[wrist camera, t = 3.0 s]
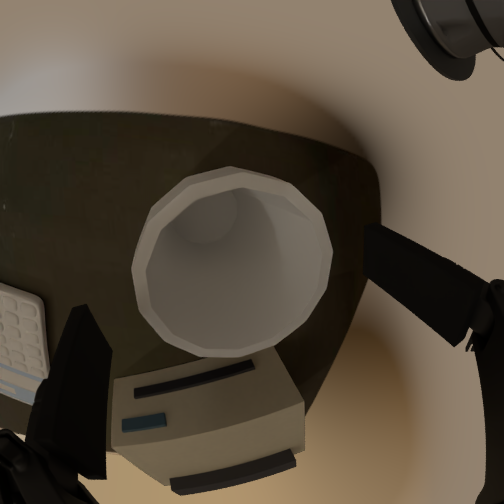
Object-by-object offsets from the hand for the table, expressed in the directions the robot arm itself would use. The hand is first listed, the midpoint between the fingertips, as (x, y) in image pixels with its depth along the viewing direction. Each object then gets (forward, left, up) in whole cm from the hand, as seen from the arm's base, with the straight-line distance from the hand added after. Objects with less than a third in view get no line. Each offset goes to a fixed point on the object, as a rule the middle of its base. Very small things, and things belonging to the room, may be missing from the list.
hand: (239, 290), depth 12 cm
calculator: (+29, +9, -14) cm, 33 cm away
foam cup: (0, 0, -14) cm, 14 cm away
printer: (+6, +24, -14) cm, 28 cm away
